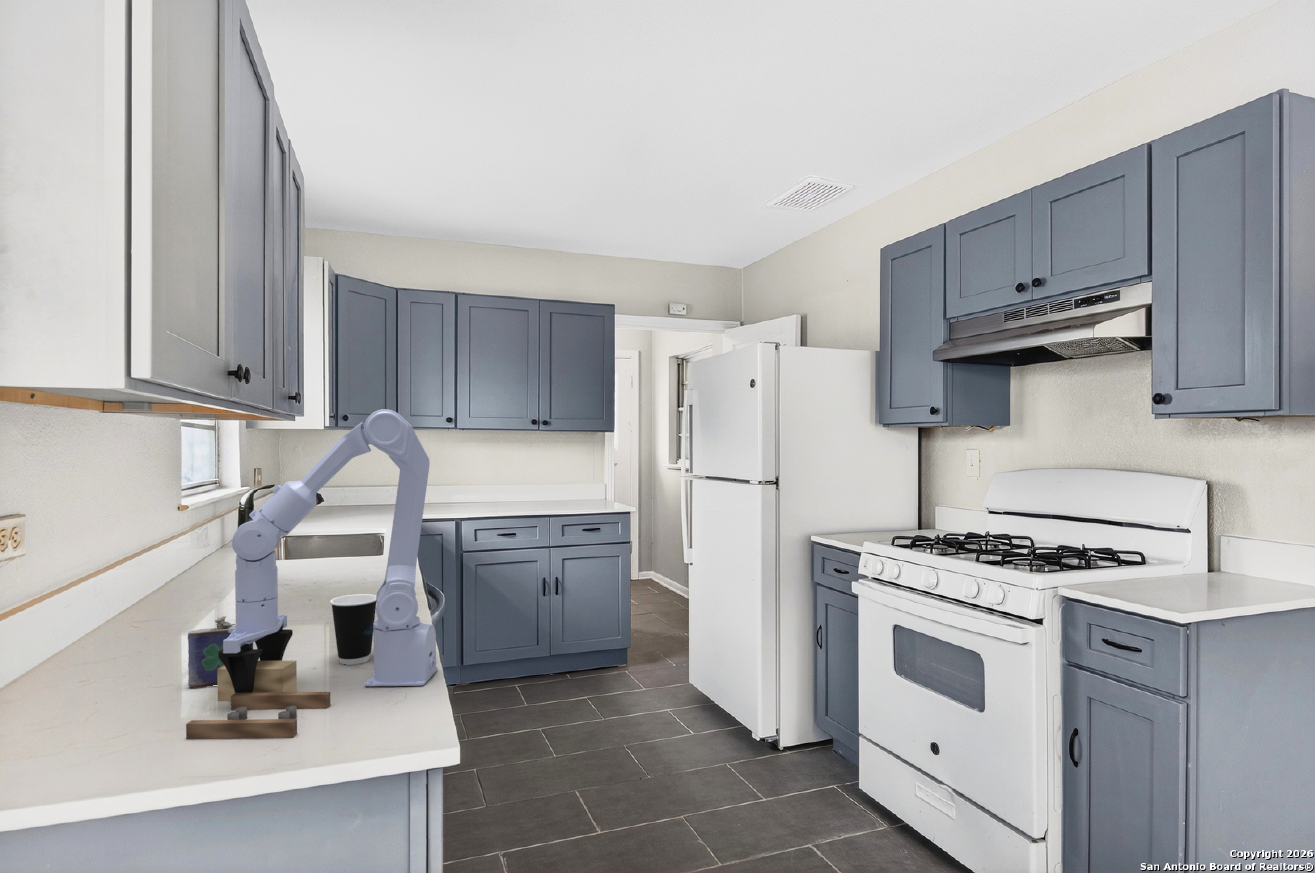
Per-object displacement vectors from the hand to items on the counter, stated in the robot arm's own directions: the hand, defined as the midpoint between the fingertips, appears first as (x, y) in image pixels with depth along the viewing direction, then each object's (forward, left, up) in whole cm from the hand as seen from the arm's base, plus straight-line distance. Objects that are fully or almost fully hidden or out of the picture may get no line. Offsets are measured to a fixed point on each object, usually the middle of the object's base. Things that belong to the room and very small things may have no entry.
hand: (257, 686), depth 111 cm
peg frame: (-6, +10, -2) cm, 12 cm away
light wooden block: (0, 0, -2) cm, 2 cm away
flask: (+9, -6, -2) cm, 11 cm away
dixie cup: (-8, -17, -2) cm, 19 cm away
